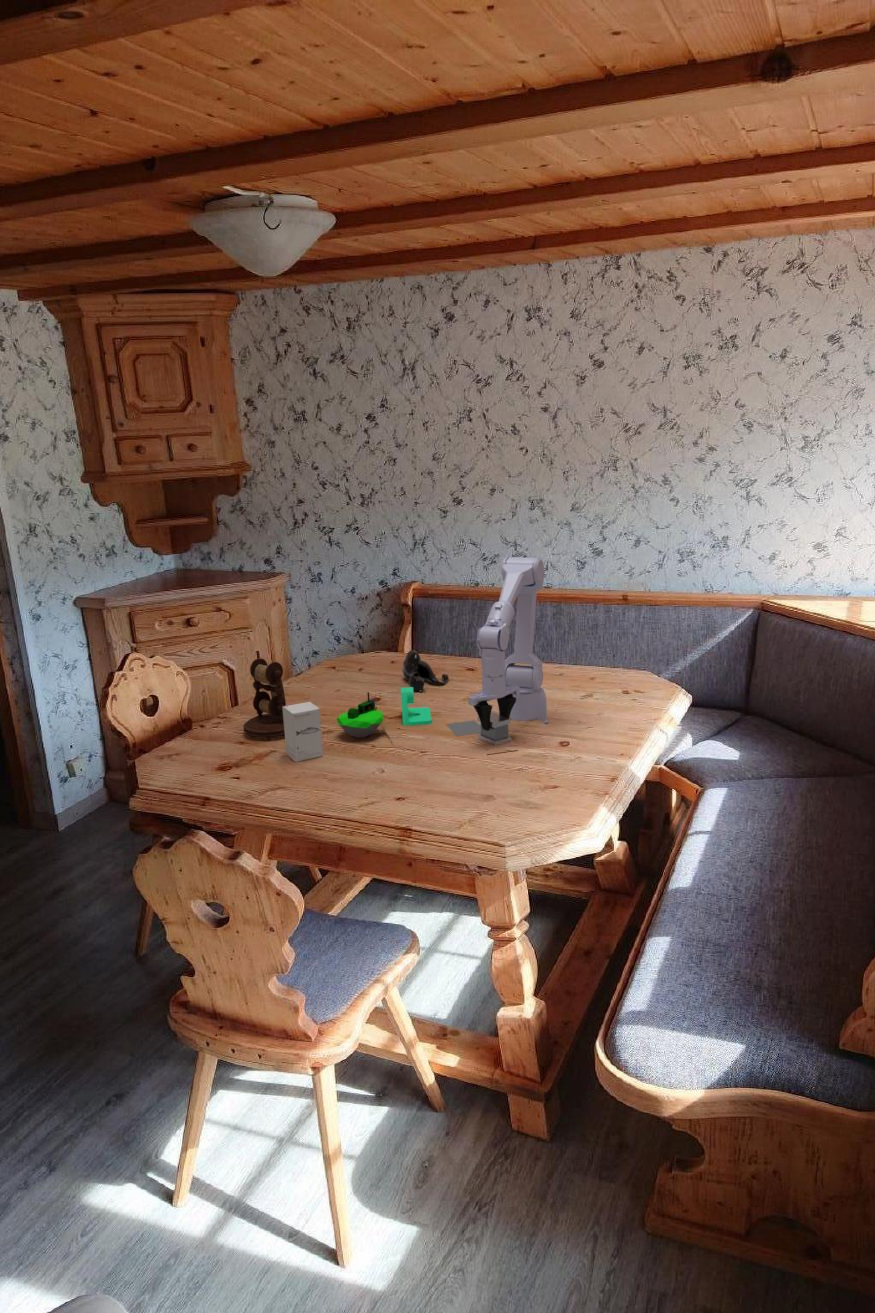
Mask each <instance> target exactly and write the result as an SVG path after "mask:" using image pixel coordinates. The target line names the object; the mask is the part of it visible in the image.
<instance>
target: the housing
mask: <svg viewBox="0 0 875 1313" xmlns="http://www.w3.org/2000/svg"><path fill="white" fill-rule="evenodd" d="M477 722H479V725H480V726H481V733H477V736H478V739H479V740H481V741H484V742H486V743H488V744H491V745H493V746H495V747H496V746H499V745H502V744H506V743H509V742H511V739H512V736H509V724H512V719H511V718H510V717H509V718H507V717H505V716H502V715H499V713H497V712H494V711H493V712H492V711H491V715H490V730H489V731H486V730H484V729H483V728H482V725H481V721H480V718H479V716H478V715H477Z"/></svg>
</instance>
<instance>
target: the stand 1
mask: <svg viewBox="0 0 875 1313" xmlns="http://www.w3.org/2000/svg"><path fill="white" fill-rule="evenodd" d="M445 725H446V727H447V728H449V729H450V731H451V732H452V733H453V734H454V735H455V736H456V737H461V736H469V735H475V734H477V735H478V734H481V725H480V723H478V721H476V720H475V719H474V720H467V721H466V720H465V721H459V722H451V723H446V724H445Z"/></svg>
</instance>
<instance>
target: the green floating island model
mask: <svg viewBox="0 0 875 1313" xmlns="http://www.w3.org/2000/svg"><path fill="white" fill-rule="evenodd" d="M366 693H367V700H365V701H363V702H361V703H358V704H357V708H356V707H350V708H348V710H347V712H344V713H341V714H340V715H339V716H338V717H337V718H336V721H337V723H338V725H339V727H340V728H341V729H342V730H343V731H344V732H345V733H346V734H347V735H348V736H351V737H355V738H359V739H363V738H365V737H366V738H367V737H368V736H371V735H373V734H374V733H375V732H376V731H377V729H378V728H379V727H380V726H381V724H382V723H383V721H384V713H383V712H382V711H380V710H379V709H378V707H377V706H376V702H375V700H374V699H370V692H369V691H368V692H366ZM377 709H378V710H377Z"/></svg>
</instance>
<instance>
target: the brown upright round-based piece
mask: <svg viewBox="0 0 875 1313" xmlns="http://www.w3.org/2000/svg"><path fill="white" fill-rule="evenodd" d="M249 672H250V676H251V677H252V678H253V680H254V681H253V683H252V687H253V688H254V690H255V695H254V696H253V699H252V706H253V709H254V710H255V711H256V714H257V715H256V716H253V717H251V718H249V719H248V721H246V722H245V723H244V724H243V727H242V728H243V732H244V733H245V734H247V735H250V736H254V737H255V736H256V737H266V738H265V739H266V740H267V741H268V742H270V740H271V737H272V736H273V737H274V736H280V735H285V731H284V720H283V708H282V707H283V706H287V703H286V694H285V690H284V689H285V688H284V684H283V680H282V677H283V674H284V668H283V665H282V664H281V663H280V662H278V661H272V662H271V663H269V664H268V662H267V661H266V660H265V658H261V657H259V658H256V659H254V660H253V661H252V663H251V664H250V667H249ZM260 690H265V691H260ZM268 692H270V694H269V693H268ZM264 713H265V714H264Z"/></svg>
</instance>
